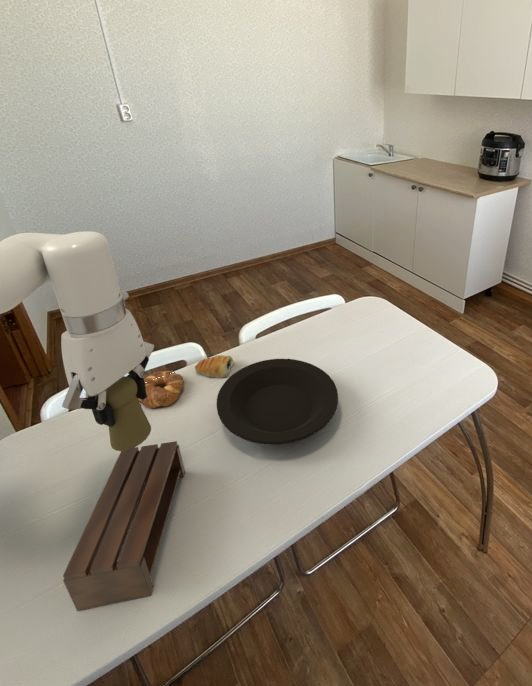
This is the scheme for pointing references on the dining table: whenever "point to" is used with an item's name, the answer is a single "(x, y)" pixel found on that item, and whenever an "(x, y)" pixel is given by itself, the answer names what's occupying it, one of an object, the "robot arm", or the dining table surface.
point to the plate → (277, 401)
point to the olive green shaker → (126, 415)
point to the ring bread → (162, 389)
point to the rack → (125, 528)
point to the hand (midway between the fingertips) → (123, 408)
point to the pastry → (215, 366)
